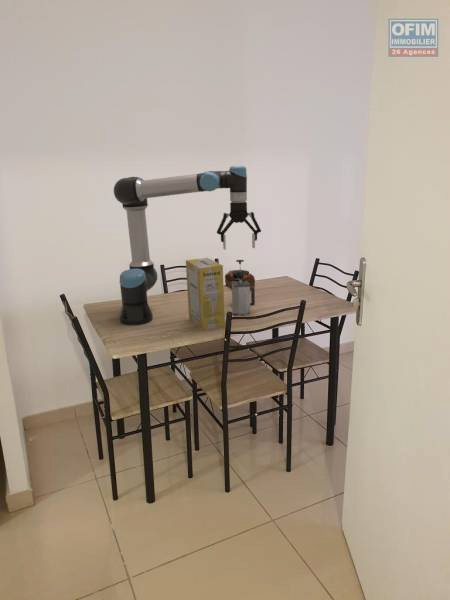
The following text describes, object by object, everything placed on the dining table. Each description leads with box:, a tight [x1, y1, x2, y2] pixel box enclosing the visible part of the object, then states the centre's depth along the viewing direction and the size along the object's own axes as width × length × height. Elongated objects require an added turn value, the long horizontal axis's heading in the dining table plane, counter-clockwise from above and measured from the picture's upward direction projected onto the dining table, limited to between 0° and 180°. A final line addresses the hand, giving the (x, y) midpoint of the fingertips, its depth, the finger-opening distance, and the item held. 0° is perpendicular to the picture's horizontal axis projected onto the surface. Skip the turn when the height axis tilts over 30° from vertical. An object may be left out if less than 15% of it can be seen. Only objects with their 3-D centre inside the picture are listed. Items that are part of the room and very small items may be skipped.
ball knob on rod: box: [236, 269, 245, 284], centre depth 220 cm, size 4×4×15 cm
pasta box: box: [185, 257, 226, 332], centre depth 209 cm, size 18×10×28 cm, turn 23°
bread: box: [224, 269, 256, 292], centre depth 266 cm, size 19×11×10 cm, turn 25°
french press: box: [231, 259, 250, 282], centre depth 235 cm, size 12×9×23 cm
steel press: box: [231, 280, 256, 317], centre depth 223 cm, size 11×8×15 cm
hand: (239, 248), depth 215 cm, fingers open, 13 cm apart
